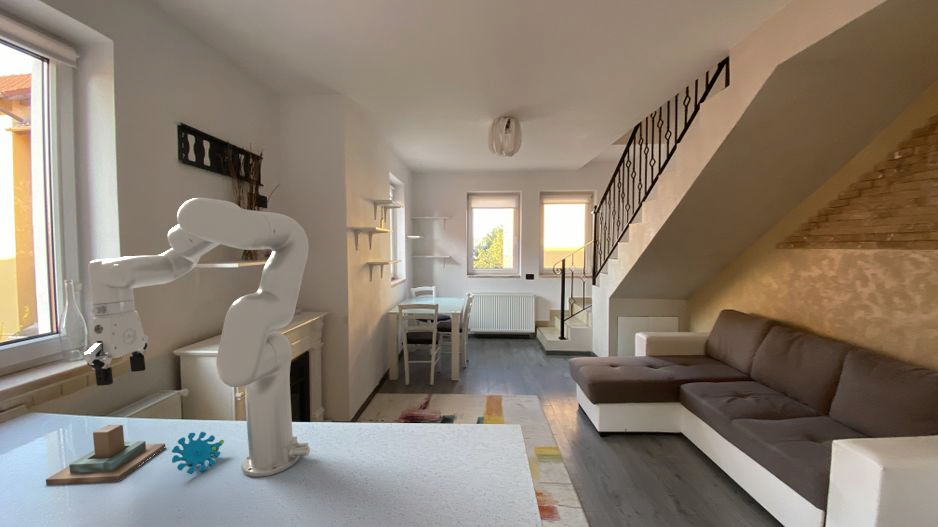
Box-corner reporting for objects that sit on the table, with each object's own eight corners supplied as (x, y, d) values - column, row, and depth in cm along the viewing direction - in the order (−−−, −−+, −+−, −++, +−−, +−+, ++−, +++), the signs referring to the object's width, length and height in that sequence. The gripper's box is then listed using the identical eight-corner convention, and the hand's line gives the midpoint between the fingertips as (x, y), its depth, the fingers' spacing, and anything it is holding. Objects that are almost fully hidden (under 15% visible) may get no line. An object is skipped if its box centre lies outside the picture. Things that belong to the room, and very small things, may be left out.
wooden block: (126, 455, 96) (123, 424, 96) (110, 464, 92) (107, 432, 92) (111, 455, 96) (108, 424, 96) (94, 464, 92) (91, 432, 92)
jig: (165, 447, 101) (164, 436, 101) (118, 481, 87) (117, 467, 87) (103, 450, 101) (102, 438, 101) (46, 484, 87) (44, 470, 87)
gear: (179, 478, 85) (168, 437, 89) (169, 491, 87) (158, 451, 91) (232, 459, 94) (219, 423, 99) (221, 472, 96) (210, 436, 101)
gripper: (98, 314, 86) (107, 389, 87) (157, 302, 103) (164, 365, 104) (63, 317, 85) (72, 392, 86) (127, 304, 103) (135, 367, 104)
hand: (122, 377), depth 95 cm, fingers open, 9 cm apart
